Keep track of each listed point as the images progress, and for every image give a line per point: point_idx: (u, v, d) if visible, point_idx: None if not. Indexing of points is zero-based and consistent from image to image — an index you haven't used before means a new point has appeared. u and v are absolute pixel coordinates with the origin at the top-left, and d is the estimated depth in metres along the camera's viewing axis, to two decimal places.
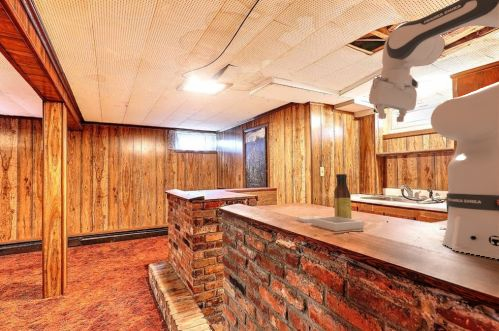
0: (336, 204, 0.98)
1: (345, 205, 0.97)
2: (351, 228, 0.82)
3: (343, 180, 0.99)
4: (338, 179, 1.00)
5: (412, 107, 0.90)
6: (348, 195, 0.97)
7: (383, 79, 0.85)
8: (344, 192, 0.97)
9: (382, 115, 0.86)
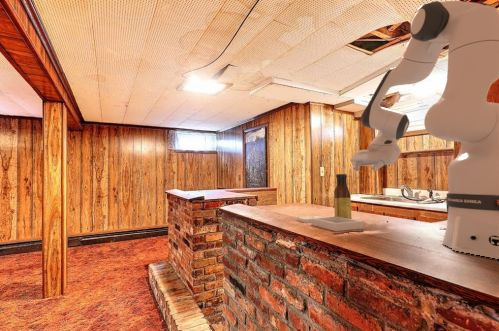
0: (336, 204, 0.98)
1: (345, 205, 0.97)
2: (351, 228, 0.82)
3: (343, 180, 0.99)
4: (338, 179, 1.00)
5: (386, 157, 1.00)
6: (348, 195, 0.97)
7: (366, 150, 1.16)
8: (344, 192, 0.97)
9: None
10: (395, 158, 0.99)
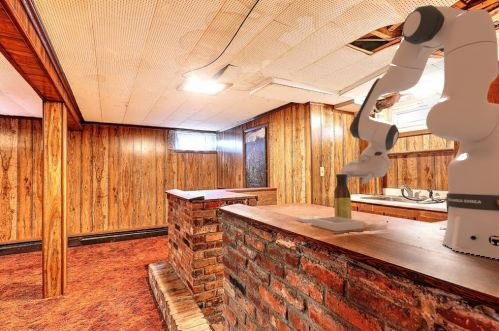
0: (336, 204, 0.98)
1: (345, 205, 0.97)
2: (351, 228, 0.82)
3: (343, 180, 0.99)
4: (338, 179, 1.00)
5: (375, 169, 0.97)
6: (348, 195, 0.97)
7: (357, 161, 1.13)
8: (344, 192, 0.97)
9: None
10: (384, 171, 0.96)
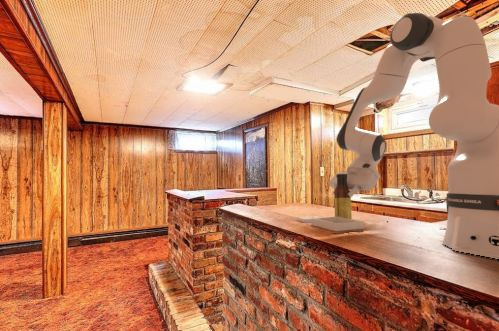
0: (336, 204, 0.98)
1: (345, 205, 0.96)
2: (351, 228, 0.82)
3: (344, 180, 0.98)
4: (338, 179, 0.99)
5: (363, 182, 0.93)
6: None
7: (345, 172, 1.09)
8: (344, 192, 0.97)
9: None
10: (372, 184, 0.93)
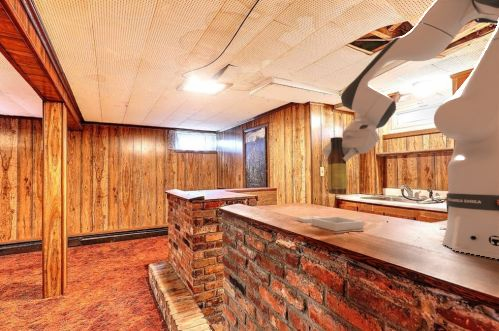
0: (330, 171, 0.87)
1: (339, 171, 0.85)
2: (351, 228, 0.82)
3: (338, 144, 0.87)
4: (332, 143, 0.88)
5: (360, 144, 0.82)
6: None
7: None
8: (338, 157, 0.86)
9: None
10: (371, 145, 0.82)
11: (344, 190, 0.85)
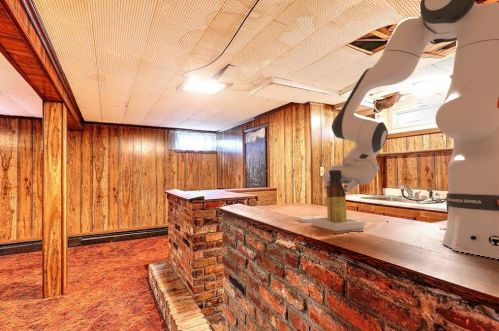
0: (329, 204, 0.87)
1: (339, 205, 0.85)
2: (351, 228, 0.82)
3: (337, 176, 0.87)
4: (331, 176, 0.88)
5: (360, 175, 0.82)
6: (342, 194, 0.86)
7: None
8: (337, 190, 0.85)
9: None
10: (371, 177, 0.81)
11: None
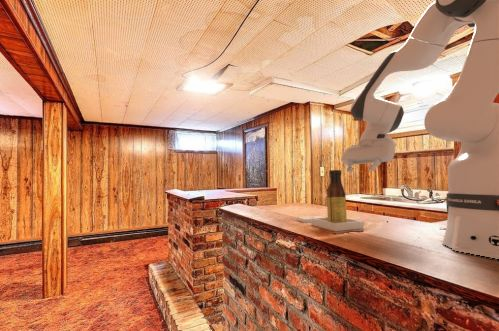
0: (329, 204, 0.87)
1: (338, 205, 0.85)
2: (351, 228, 0.82)
3: (337, 176, 0.87)
4: (331, 176, 0.88)
5: (382, 154, 0.90)
6: (342, 194, 0.86)
7: (356, 145, 1.05)
8: (337, 190, 0.85)
9: None
10: (392, 154, 0.90)
11: None
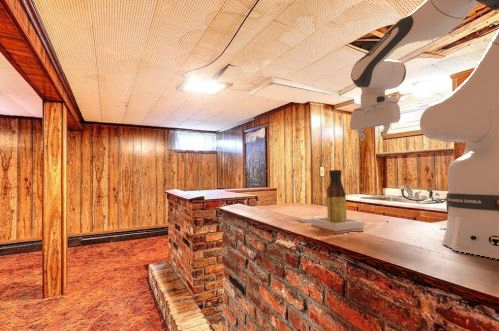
0: (329, 204, 0.87)
1: (339, 205, 0.85)
2: (351, 228, 0.82)
3: (337, 176, 0.87)
4: (331, 176, 0.88)
5: (389, 119, 0.91)
6: (342, 194, 0.86)
7: (359, 109, 1.05)
8: (337, 190, 0.85)
9: None
10: (398, 114, 0.90)
11: None
